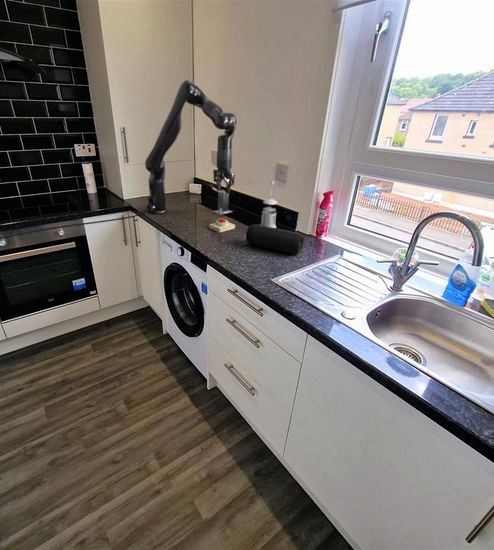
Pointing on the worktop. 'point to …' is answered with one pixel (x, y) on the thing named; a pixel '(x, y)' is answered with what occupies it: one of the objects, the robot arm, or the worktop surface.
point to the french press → (269, 213)
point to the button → (222, 220)
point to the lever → (214, 189)
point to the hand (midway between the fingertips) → (223, 192)
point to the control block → (221, 226)
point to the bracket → (223, 203)
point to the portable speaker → (275, 239)
